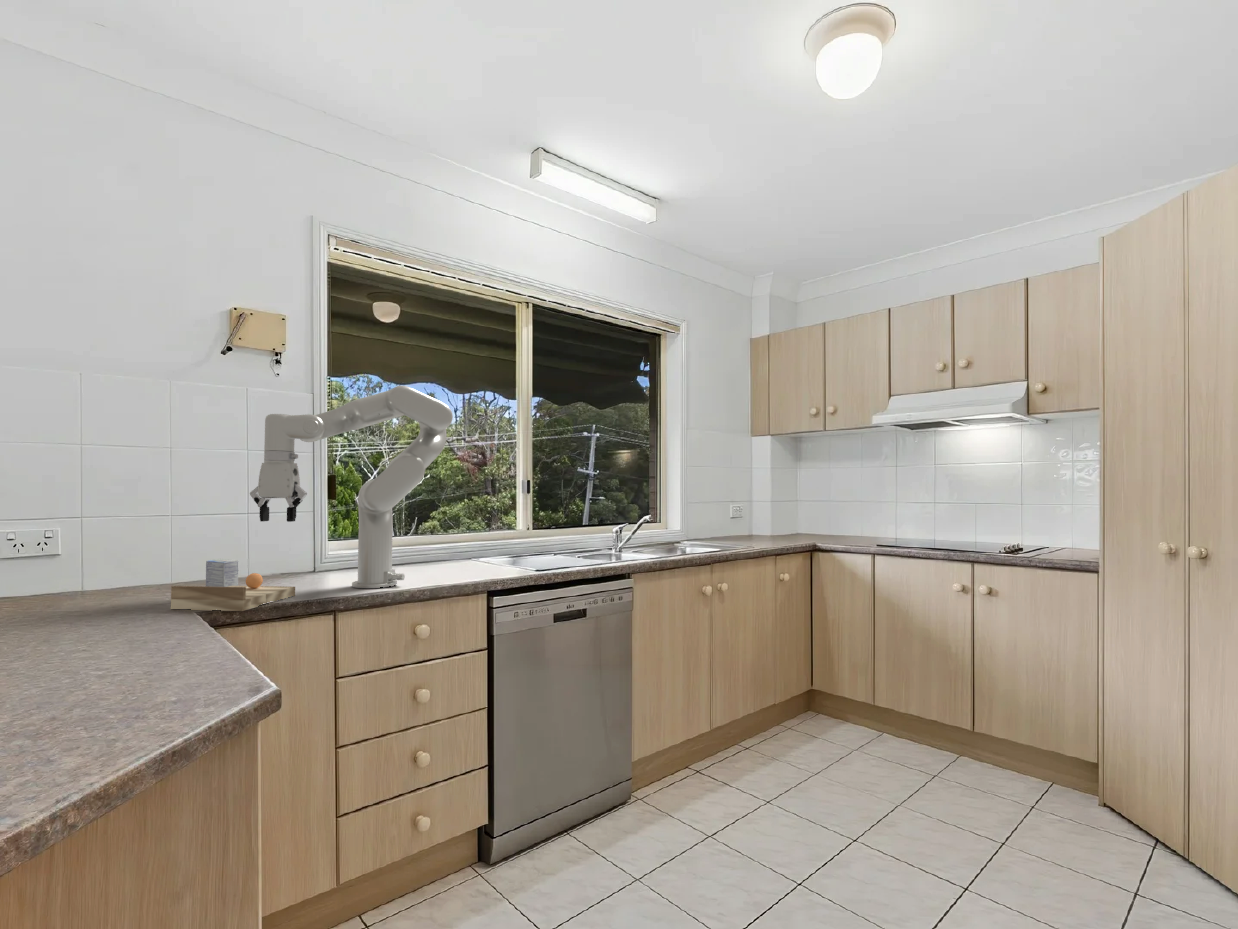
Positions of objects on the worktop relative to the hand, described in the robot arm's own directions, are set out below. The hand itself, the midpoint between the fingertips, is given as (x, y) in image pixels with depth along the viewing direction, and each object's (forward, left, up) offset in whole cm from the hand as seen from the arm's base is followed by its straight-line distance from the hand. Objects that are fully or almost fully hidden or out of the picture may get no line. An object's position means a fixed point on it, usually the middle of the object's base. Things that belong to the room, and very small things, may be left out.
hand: (277, 520), depth 186 cm
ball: (0, +10, -15) cm, 18 cm away
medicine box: (+16, 0, -20) cm, 26 cm away
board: (0, +17, -20) cm, 26 cm away
